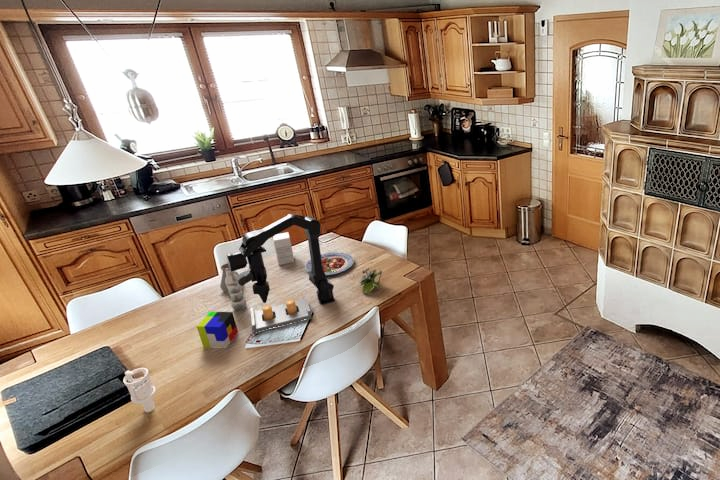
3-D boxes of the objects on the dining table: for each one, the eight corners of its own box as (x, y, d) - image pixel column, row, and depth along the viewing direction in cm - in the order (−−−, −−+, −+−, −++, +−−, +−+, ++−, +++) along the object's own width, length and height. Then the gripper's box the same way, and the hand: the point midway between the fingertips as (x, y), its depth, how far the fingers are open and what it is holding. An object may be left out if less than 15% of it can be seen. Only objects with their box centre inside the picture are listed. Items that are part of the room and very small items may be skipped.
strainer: (149, 398, 134) (134, 363, 128) (166, 401, 132) (151, 366, 126) (132, 415, 128) (116, 379, 122) (150, 418, 126) (134, 382, 120)
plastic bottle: (250, 305, 183) (240, 266, 175) (240, 313, 177) (230, 273, 169) (239, 303, 185) (229, 265, 177) (229, 311, 180) (218, 272, 172)
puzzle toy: (226, 348, 155) (219, 327, 151) (203, 347, 157) (196, 326, 153) (238, 332, 164) (232, 312, 160) (216, 331, 166) (210, 311, 162)
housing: (306, 302, 180) (304, 294, 178) (311, 318, 167) (310, 310, 166) (252, 315, 174) (250, 308, 173) (254, 333, 162) (251, 325, 160)
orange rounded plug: (273, 316, 172) (271, 304, 169) (274, 321, 168) (272, 309, 166) (264, 319, 171) (261, 307, 169) (265, 324, 167) (262, 312, 165)
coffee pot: (230, 297, 192) (223, 269, 186) (216, 291, 198) (209, 264, 192) (264, 277, 207) (258, 251, 201) (250, 272, 213) (244, 247, 207)
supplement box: (277, 258, 226) (272, 234, 220) (293, 255, 228) (288, 231, 222) (278, 265, 218) (273, 240, 212) (294, 262, 219) (289, 237, 213)
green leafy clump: (368, 295, 190) (371, 270, 192) (386, 297, 183) (390, 271, 185) (353, 292, 182) (356, 266, 184) (371, 294, 175) (375, 267, 177)
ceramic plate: (312, 256, 224) (311, 251, 223) (357, 254, 220) (356, 249, 219) (300, 279, 201) (299, 274, 200) (350, 277, 197) (349, 272, 196)
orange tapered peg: (296, 310, 174) (294, 299, 172) (298, 315, 171) (295, 303, 168) (287, 313, 173) (285, 301, 171) (288, 318, 170) (286, 306, 167)
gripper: (235, 258, 165) (243, 291, 171) (235, 278, 149) (244, 313, 155) (262, 253, 168) (269, 285, 174) (265, 271, 151) (273, 306, 157)
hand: (263, 297), depth 165 cm, fingers open, 9 cm apart
